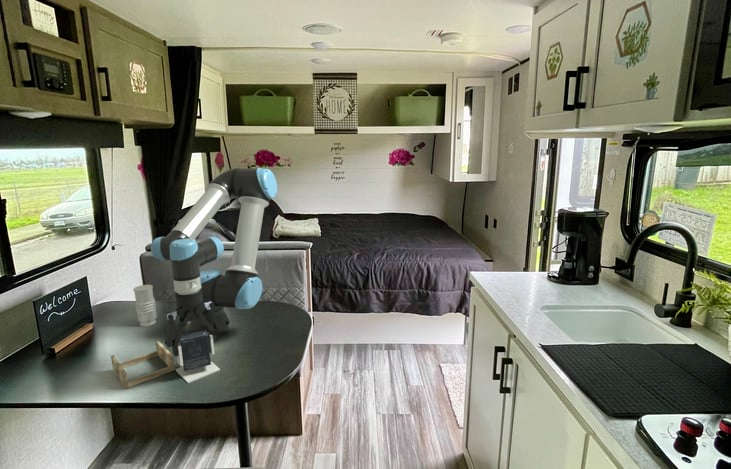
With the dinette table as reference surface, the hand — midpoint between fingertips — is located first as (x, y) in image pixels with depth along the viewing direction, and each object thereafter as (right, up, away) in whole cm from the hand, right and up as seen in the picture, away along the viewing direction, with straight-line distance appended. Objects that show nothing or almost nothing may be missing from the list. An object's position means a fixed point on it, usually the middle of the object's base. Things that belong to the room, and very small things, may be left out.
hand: (196, 358), depth 125 cm
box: (0, -2, 0) cm, 2 cm away
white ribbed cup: (-34, +3, +35) cm, 49 cm away
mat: (0, -4, +1) cm, 4 cm away
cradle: (-17, -4, +1) cm, 18 cm away
